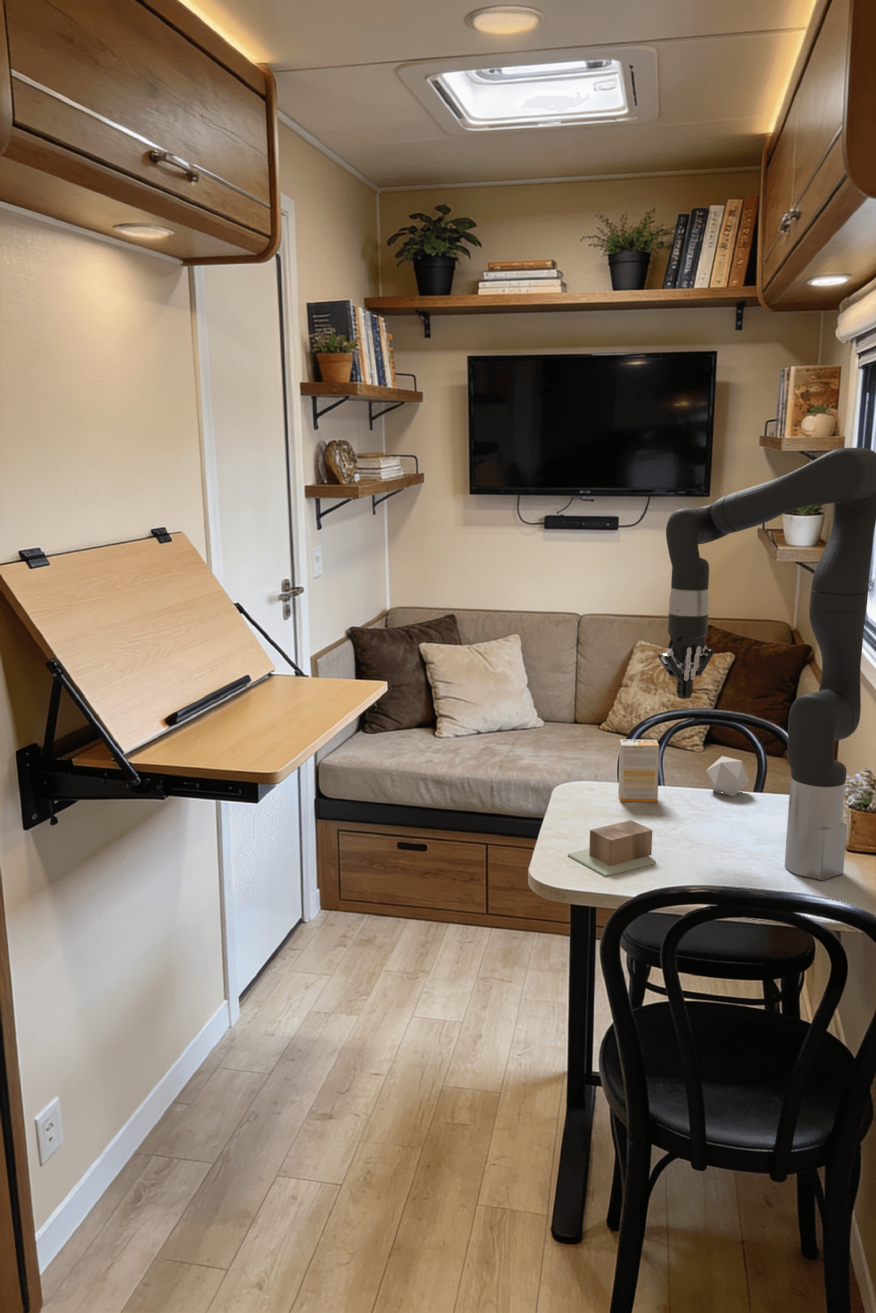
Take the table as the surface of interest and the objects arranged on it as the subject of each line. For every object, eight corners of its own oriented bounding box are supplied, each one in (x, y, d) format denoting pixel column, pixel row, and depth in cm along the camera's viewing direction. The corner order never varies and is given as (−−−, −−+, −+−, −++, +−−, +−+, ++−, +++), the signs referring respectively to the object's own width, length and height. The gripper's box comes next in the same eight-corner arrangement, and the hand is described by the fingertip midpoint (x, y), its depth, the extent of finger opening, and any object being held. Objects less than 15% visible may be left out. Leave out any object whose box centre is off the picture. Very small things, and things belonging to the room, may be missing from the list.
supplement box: (655, 795, 221) (657, 739, 218) (657, 803, 216) (660, 745, 214) (617, 794, 222) (619, 738, 219) (619, 802, 217) (621, 744, 214)
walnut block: (652, 829, 186) (610, 840, 181) (651, 855, 187) (610, 866, 182) (630, 820, 191) (590, 829, 187) (630, 844, 192) (589, 854, 188)
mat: (655, 862, 185) (655, 860, 185) (605, 876, 179) (605, 874, 179) (617, 843, 194) (617, 841, 194) (567, 855, 188) (567, 853, 188)
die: (755, 796, 222) (744, 755, 226) (747, 788, 215) (736, 746, 219) (718, 805, 225) (708, 765, 229) (710, 797, 218) (700, 755, 222)
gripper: (676, 617, 187) (672, 706, 191) (727, 611, 194) (722, 697, 197) (649, 611, 194) (646, 698, 197) (699, 606, 200) (695, 690, 204)
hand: (684, 697), depth 197 cm, fingers closed
